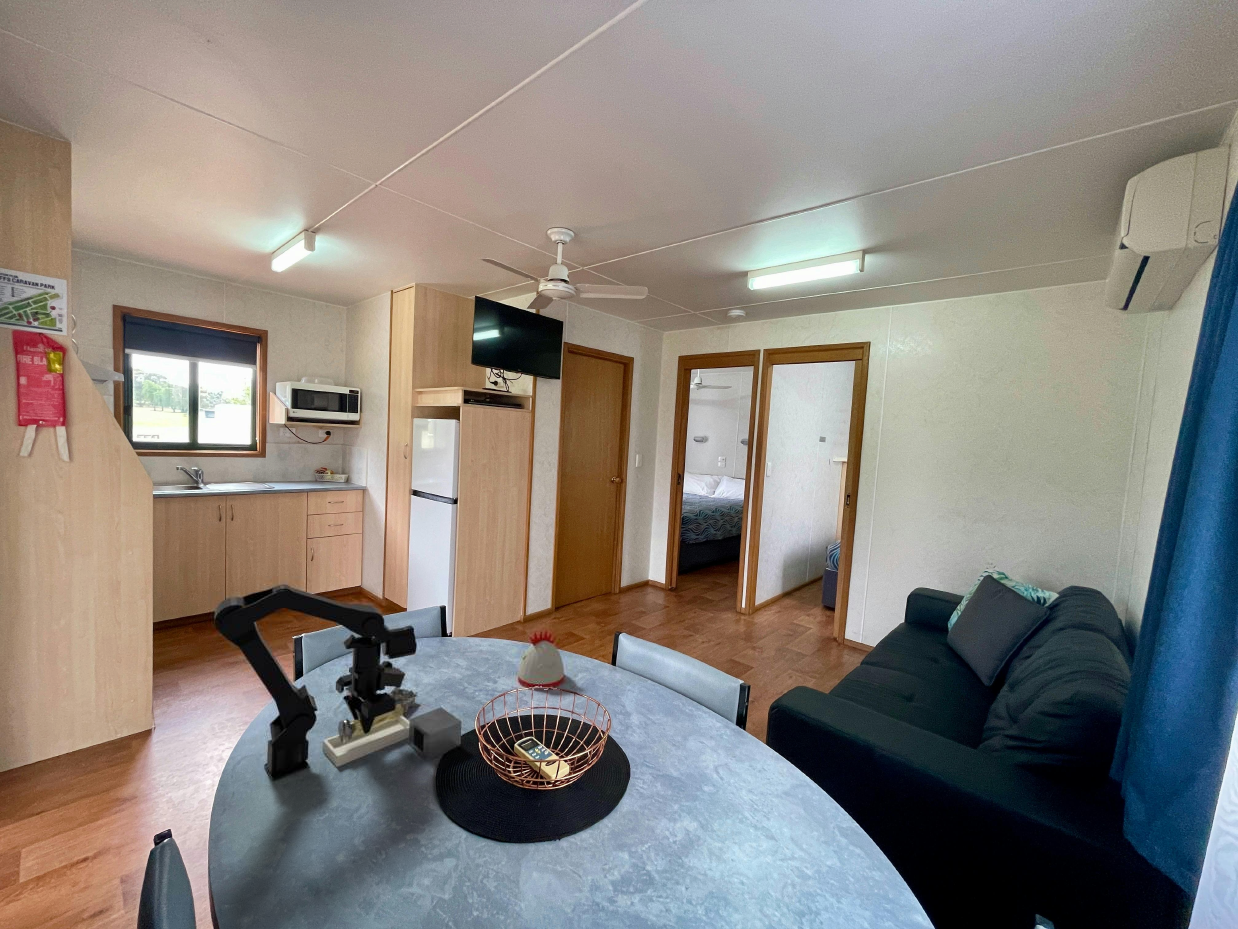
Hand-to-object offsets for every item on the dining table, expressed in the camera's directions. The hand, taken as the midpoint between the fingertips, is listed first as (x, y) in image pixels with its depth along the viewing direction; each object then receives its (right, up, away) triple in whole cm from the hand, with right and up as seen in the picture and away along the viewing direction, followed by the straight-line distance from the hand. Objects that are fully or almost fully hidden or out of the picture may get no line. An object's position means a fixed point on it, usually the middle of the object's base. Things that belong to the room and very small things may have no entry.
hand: (363, 730), depth 116 cm
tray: (+1, -4, +1) cm, 4 cm away
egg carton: (0, -4, +16) cm, 16 cm away
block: (+16, -4, +2) cm, 16 cm away
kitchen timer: (+35, -5, +38) cm, 52 cm away
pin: (+1, -1, +1) cm, 2 cm away
